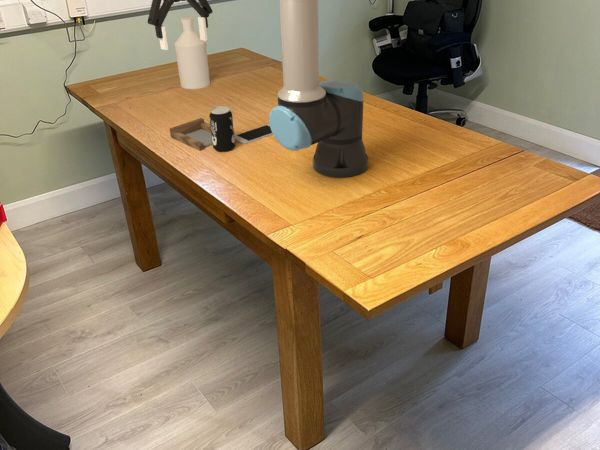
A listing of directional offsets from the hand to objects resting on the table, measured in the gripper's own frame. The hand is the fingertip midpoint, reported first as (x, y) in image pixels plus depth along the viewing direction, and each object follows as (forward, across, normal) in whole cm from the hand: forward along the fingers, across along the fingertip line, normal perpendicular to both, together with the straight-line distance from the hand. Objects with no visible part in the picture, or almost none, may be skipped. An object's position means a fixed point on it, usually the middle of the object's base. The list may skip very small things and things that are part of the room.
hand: (184, 44), depth 170 cm
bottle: (+28, -30, -44) cm, 60 cm away
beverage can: (+28, 0, +15) cm, 32 cm away
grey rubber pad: (+28, +1, +4) cm, 28 cm away
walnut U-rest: (+28, +1, +4) cm, 28 cm away
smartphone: (+29, -13, +14) cm, 34 cm away
